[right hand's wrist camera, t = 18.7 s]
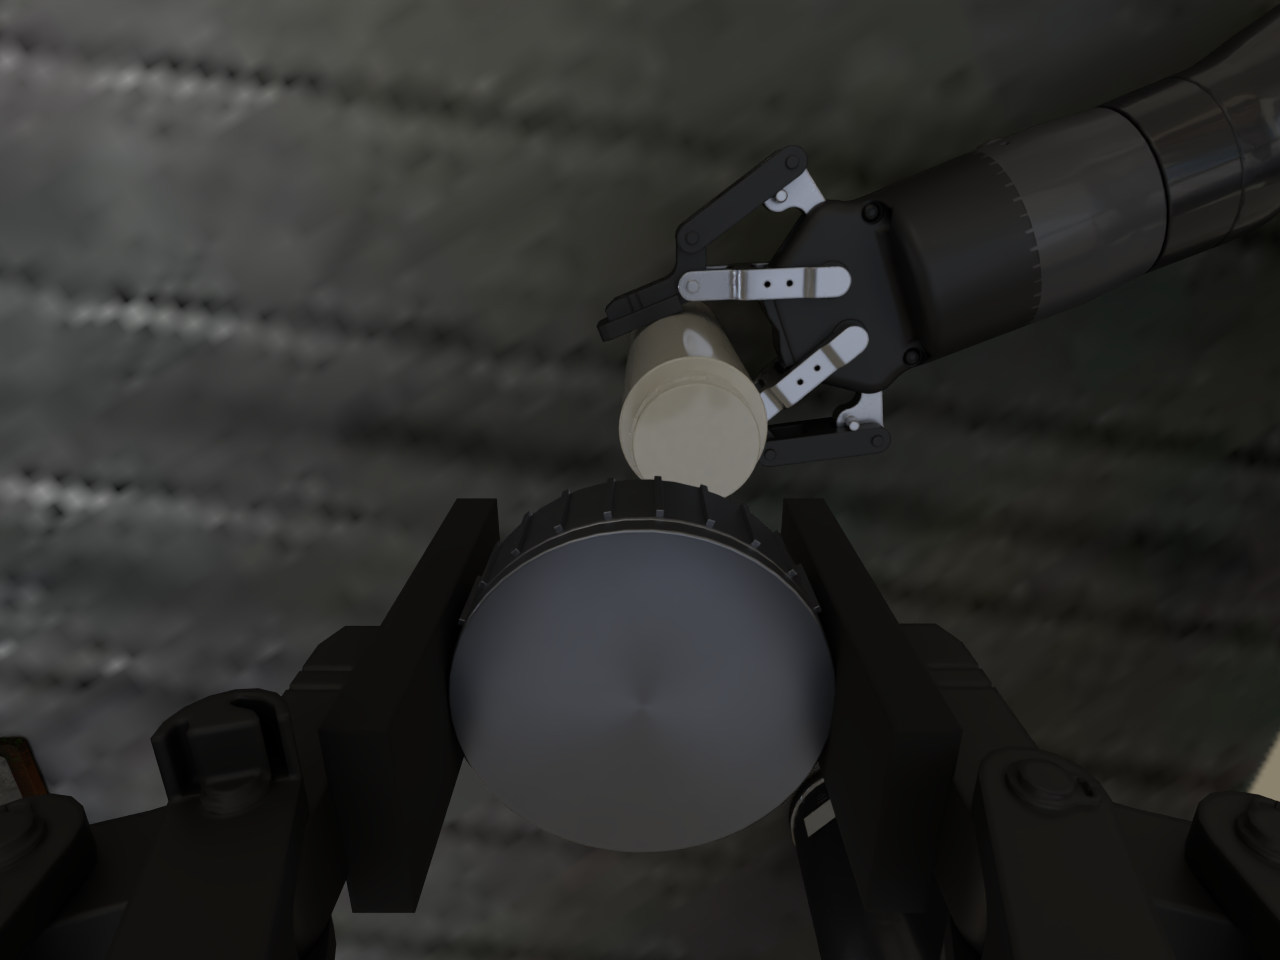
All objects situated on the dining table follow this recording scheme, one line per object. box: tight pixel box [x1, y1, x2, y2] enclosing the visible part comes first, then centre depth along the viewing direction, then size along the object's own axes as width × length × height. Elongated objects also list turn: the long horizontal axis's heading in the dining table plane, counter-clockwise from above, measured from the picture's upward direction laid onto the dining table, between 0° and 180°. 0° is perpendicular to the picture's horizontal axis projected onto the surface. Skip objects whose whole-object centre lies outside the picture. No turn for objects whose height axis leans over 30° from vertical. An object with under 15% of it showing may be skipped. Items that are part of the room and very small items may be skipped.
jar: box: [619, 301, 768, 498], centre depth 31 cm, size 5×5×18 cm
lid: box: [447, 476, 836, 852], centre depth 11 cm, size 6×6×2 cm
